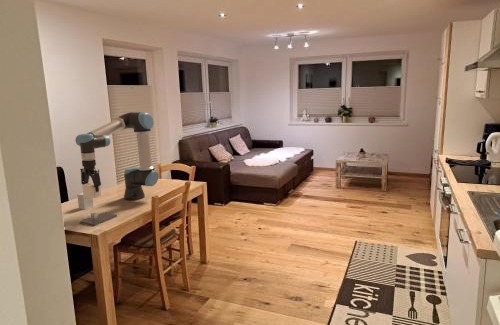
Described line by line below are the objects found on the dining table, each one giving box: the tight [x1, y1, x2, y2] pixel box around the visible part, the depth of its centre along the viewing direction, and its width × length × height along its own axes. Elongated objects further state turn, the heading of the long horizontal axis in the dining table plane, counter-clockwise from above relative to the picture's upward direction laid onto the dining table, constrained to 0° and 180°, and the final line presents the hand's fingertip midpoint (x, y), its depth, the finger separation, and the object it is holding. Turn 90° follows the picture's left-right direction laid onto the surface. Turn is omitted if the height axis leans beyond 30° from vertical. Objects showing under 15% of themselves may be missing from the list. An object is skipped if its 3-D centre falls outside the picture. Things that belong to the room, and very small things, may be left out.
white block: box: [81, 181, 102, 200], centre depth 216 cm, size 7×7×8 cm
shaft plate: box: [79, 211, 118, 227], centre depth 222 cm, size 18×12×6 cm, turn 154°
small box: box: [77, 192, 94, 210], centre depth 247 cm, size 8×6×10 cm
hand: (92, 196), depth 217 cm, fingers closed on white block, 7 cm apart
